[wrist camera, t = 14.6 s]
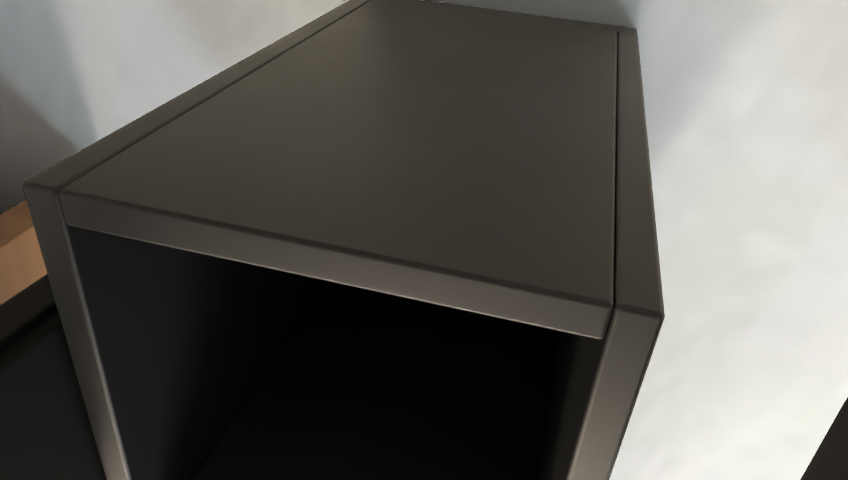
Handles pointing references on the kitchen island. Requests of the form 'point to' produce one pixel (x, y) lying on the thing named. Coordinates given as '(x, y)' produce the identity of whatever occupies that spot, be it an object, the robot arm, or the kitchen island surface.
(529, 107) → the holder
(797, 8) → the kitchen island surface
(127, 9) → the kitchen island surface
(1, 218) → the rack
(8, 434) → the robot arm
